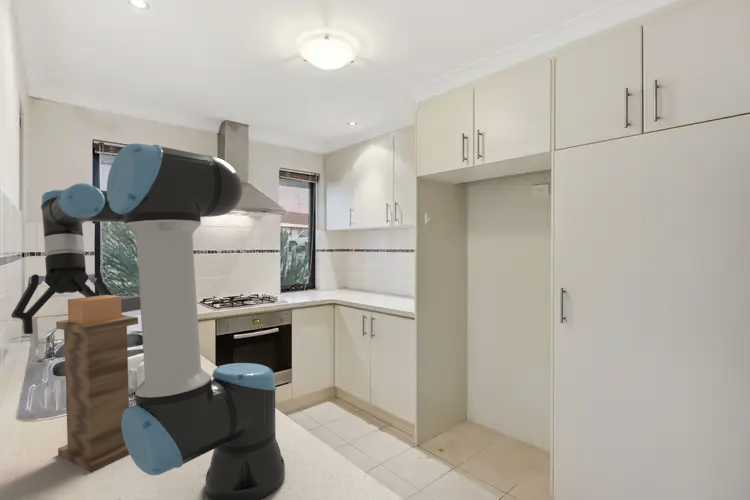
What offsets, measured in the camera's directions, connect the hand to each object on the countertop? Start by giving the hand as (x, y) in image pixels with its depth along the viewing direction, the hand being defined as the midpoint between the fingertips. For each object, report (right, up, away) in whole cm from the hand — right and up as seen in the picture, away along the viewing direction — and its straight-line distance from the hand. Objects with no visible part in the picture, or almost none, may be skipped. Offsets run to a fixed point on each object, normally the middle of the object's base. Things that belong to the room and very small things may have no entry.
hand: (71, 343), depth 92 cm
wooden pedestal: (+8, -24, -2) cm, 26 cm away
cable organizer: (0, -24, +34) cm, 41 cm away
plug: (+11, +6, +1) cm, 12 cm away
